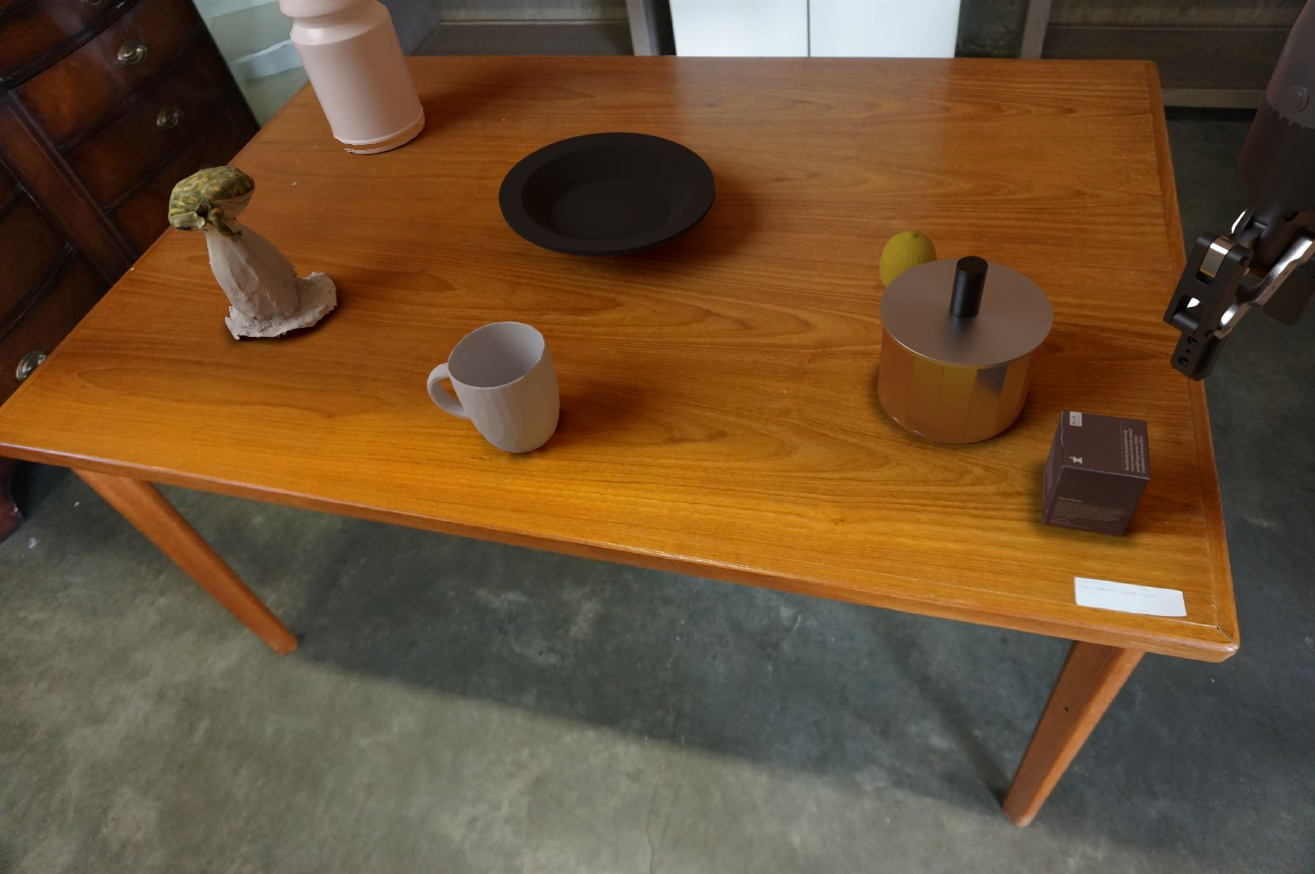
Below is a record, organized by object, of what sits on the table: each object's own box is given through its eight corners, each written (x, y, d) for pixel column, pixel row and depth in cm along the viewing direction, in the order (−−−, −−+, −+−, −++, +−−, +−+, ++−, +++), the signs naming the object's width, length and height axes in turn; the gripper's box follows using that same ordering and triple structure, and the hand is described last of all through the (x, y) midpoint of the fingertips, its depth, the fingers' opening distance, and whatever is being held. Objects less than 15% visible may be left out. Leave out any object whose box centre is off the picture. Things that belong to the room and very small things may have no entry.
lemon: (937, 311, 85) (947, 245, 79) (881, 316, 85) (887, 251, 80) (926, 277, 89) (935, 212, 83) (873, 282, 89) (878, 218, 83)
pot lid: (1088, 326, 68) (1106, 271, 64) (958, 400, 65) (969, 346, 61) (965, 249, 77) (974, 196, 73) (845, 310, 73) (848, 258, 69)
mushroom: (326, 338, 95) (248, 197, 81) (217, 354, 95) (121, 216, 82) (344, 275, 103) (276, 137, 89) (244, 290, 103) (161, 155, 90)
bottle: (319, 149, 126) (224, -53, 106) (376, 105, 134) (299, -91, 114) (390, 161, 121) (305, -50, 100) (445, 115, 129) (377, -90, 108)
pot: (1054, 401, 75) (1080, 320, 68) (944, 466, 72) (960, 388, 65) (952, 327, 83) (966, 248, 76) (849, 383, 80) (854, 305, 73)
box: (1123, 539, 65) (1152, 480, 59) (1039, 525, 67) (1060, 466, 61) (1121, 480, 68) (1148, 419, 63) (1042, 467, 70) (1062, 407, 65)
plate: (763, 217, 100) (761, 175, 96) (618, 322, 90) (609, 281, 86) (608, 151, 115) (600, 112, 111) (469, 235, 105) (456, 196, 101)
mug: (579, 398, 83) (557, 321, 76) (556, 467, 77) (529, 391, 70) (461, 393, 86) (429, 318, 78) (430, 459, 80) (392, 385, 73)
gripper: (1340, 174, 37) (1211, 427, 48) (1532, 69, 40) (1369, 329, 52) (1187, 115, 42) (1103, 359, 53) (1371, 27, 45) (1255, 273, 57)
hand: (1235, 344), depth 53 cm, fingers open, 8 cm apart
